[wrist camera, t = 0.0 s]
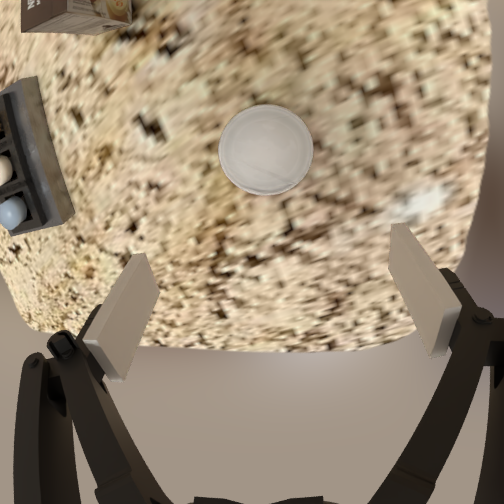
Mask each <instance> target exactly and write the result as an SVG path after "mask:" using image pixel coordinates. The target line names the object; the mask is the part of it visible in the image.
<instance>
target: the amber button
mask: <svg viewBox="0 0 504 504" xmlns="http://www.w3.org/2000/svg"><path fill="white" fill-rule="evenodd" d="M2 131H4V128H3V124H2V120H1V117H0V132H2Z"/></svg>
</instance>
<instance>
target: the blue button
mask: <svg viewBox="0 0 504 504" xmlns="http://www.w3.org/2000/svg"><path fill="white" fill-rule="evenodd" d="M28 209H29V207H28V205H27V202H26V199H25V197H24V196H22V197H21V198H19V197H18V196H12V197H11V198H9V199H8V200H6V201H5V202H4V203H2V204H1V205H0V223H1V224H2V226H3V227H5V228H6V229H8V230H12V229H14V228H15V227H16V226H18V225H19V224H20V223H21V222H22V221H24V220H25V219H26V216H27V210H28Z"/></svg>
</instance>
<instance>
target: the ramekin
mask: <svg viewBox="0 0 504 504" xmlns="http://www.w3.org/2000/svg"><path fill="white" fill-rule="evenodd" d="M313 151H314V148H313V140H312V136H311V134H310V131H309V129H308V127H307V126H306V124H305V123H304V121H303V120H302V119H301V118H300V117H299V116H298V115H297V114H295V113H294V112H292V111H291V110H289V109H287V108H285V107H282V106H278V105H272V104H261V105H255V106H252V107H249V108H246V109H244V110H242V111H241V112H239V113H238V114H236V115H235V116H234V117H233V118H232V119H231V120H230V121H229V122H228V123H227V125H226V126H225V128H224V130H223V132H222V134H221V137H220V141H219V145H218V155H219V161H220V164H221V167H222V169H223V171H224V173H225V175H226V176H227V177H228V178H229V180H230V181H231V182H232V183H233V184H235V185H236V186H237V187H239V188H240V189H242V190H244V191H246V192H249V193H252V194H256V195H263V196H268V195H276V194H280V193H283V192H286V191H288V190H290V189H291V188H293V187H294V186H296V185H297V184H298V183H299V182H300V181H301V180H302V179H303V178H304V176H305V175H306V174H307V172H308V170H309V168H310V166H311V163H312V159H313Z"/></svg>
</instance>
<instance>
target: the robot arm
mask: <svg viewBox="0 0 504 504" xmlns="http://www.w3.org/2000/svg"><path fill="white" fill-rule="evenodd" d="M388 269H389V271H390V273H391V275H392V277H393V279H394V281H395V283H396V285H397V287H398V289H399V291H400V293H401V295H402V297H403V299H404V302H405V304H406V306H407V308H408V310H409V312H410V315H411V317H412V319H413V321H414V323H415V326H416V328H417V330H418V332H419V335H420V337H421V339H422V342H423V344H424V346H425V349H426V351H427V353H428V356H429V358H430V359H431V358H435V357H440V356H444V355H445V354H446V352H447V349H448V346H449V347H450V349H451V351H452V354H451V357H450V359H449V362H448V364H447V367H446V369H445V371H444V373H443V376H442V378H441V380H440V382H439V384H438V387H437V389H436V391H435V393H434V395H433V397H432V400H431V401H430V403H429V405H428V407H427V409H426V411H425V413H424V415H423V417H422V419H421V421H420V423H419V424H418V426H417V428H416V430H415V432H414V434H413V435H412V437H411V439H410V441H409V442H408V444H407V446H406V447H405V449H404V451H403V452H402V454H401V456H400V457H399V459H398V461H397V462H396V464H395V465H394V467H393V468H392V470H391V471H390V473H389V474H388V476H387V477H386V479H385V480H384V482H383V483H382V485H381V486H380V487H379V489H378V490H377V492H376V493H375V494H374V496H373V497H372V499H371V500H370V501H369V503H368V504H426V503H427V501H428V500H429V498H430V496H431V494H432V492H433V491H434V488H435V482H436V480H437V478H438V476H439V474H440V472H441V470H442V468H443V466H444V464H445V462H446V460H447V458H448V456H449V454H450V452H451V450H452V448H453V446H454V444H455V441H456V439H457V437H458V435H459V432H460V430H461V427H462V425H463V423H464V420H465V418H466V415H467V413H468V410H469V408H470V405H471V402H472V400H473V397H474V394H475V391H476V388H477V385H478V382H479V379H480V376H481V373H482V370H483V366H490V397H489V412H488V423H487V433H486V441H485V449H484V455H483V461H482V468H481V473H480V478H479V483H478V488H477V492H476V496H475V501H474V504H504V318H494V316H493V315H492V313H491V312H490V311H488V310H487V309H484V308H481V307H478V306H477V305H476V303H475V302H474V300H473V299H472V297H471V296H470V294H469V293H468V291H467V290H466V288H464V286H463V284H462V283H461V282H460V280H459V279H458V277H457V276H456V274H455V273H453V272H452V271H451V270H449V269H448V268H442V269H438V268H437V267H436V265H435V264H434V262H433V261H432V259H431V258H430V257H429V255H428V254H427V252H426V251H425V250H424V248H423V247H422V245H421V244H420V243H419V241H418V240H417V239H416V237H415V236H414V235H413V233H412V232H411V231H410V229H409V228H408V227H407V225H406V224H405V223H398V224H391V238H390V253H389V266H388ZM159 294H160V291H159V288H158V286H157V283H156V280H155V278H154V275H153V273H152V270H151V267H150V265H149V262H148V259H147V256H146V254H145V253H140V254H133V255H132V257H131V259H130V260H129V262H128V263H127V265H126V266H125V268H124V270H123V271H122V273H121V274H120V276H119V278H118V279H117V281H116V282H115V284H114V286H113V287H112V289H111V291H110V292H109V294H108V296H107V297H106V299H105V301H104V302H103V304H99V305H98V306H97V307H96V308H95V309H94V310H93V311H92V312H91V314H90V315H89V317H88V320H86V322H85V324H84V326H83V327H82V329H81V331H80V332H79V334H78V336H77V338H76V340H74V338H73V336H72V335H71V333H70V332H69V331H67V330H61V331H59V332H56V333H55V334H54V335H52V336H51V337H50V339H49V340H48V342H47V348H48V349H49V351H50V352H51V354H52V355H53V356H54V358H50V359H45V357H44V356H43V355H42V353H39V352H37V353H33V354H31V355H30V356H28V357H27V358H26V360H25V361H24V364H23V367H22V373H21V380H20V387H19V394H18V402H17V412H16V423H15V436H14V464H13V465H14V466H13V470H14V471H13V475H14V477H13V478H14V504H81V499H80V493H79V487H78V479H77V471H76V464H75V453H74V441H73V426H72V420H73V423H74V426H75V429H76V432H77V435H78V438H79V441H80V443H81V446H82V448H83V451H84V454H85V457H86V459H87V462H88V464H89V466H90V469H91V471H92V474H93V476H94V478H95V481H96V483H97V486H98V488H97V489H95V495H96V499H97V501H98V503H99V504H173V503H172V502H171V500H169V498H168V497H167V496H166V495H165V493H164V492H163V491H162V489H161V487H160V486H159V485H158V483H157V481H156V480H155V478H154V476H153V475H152V473H151V471H150V470H149V468H148V466H147V465H146V463H145V461H144V460H143V458H142V456H141V454H140V453H139V451H138V449H137V447H136V446H135V444H134V442H133V440H132V438H131V436H130V434H129V432H128V430H127V429H126V427H125V425H124V423H123V421H122V419H121V417H120V415H119V413H118V410H117V408H116V406H115V404H114V402H113V400H112V398H111V396H110V394H109V391H108V389H107V387H106V385H105V383H104V382H103V380H102V378H103V376H104V374H106V376H107V377H108V379H109V380H110V381H113V382H124V381H125V379H126V376H127V373H128V371H129V368H130V366H131V363H132V360H133V358H134V355H135V353H136V350H137V348H138V345H139V343H140V340H141V338H142V335H143V333H144V330H145V328H146V325H147V323H148V320H149V318H150V316H151V313H152V311H153V308H154V306H155V304H156V301H157V299H158V297H159ZM189 504H242V503H239V502H235V501H231V500H227V499H221V498H206V497H194V502H193V503H189ZM272 504H337V503H332V502H327V501H323V496H318V497H317V496H316V497H305V498H291V499H287V500H284V501H279V502H276V503H272Z"/></svg>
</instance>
